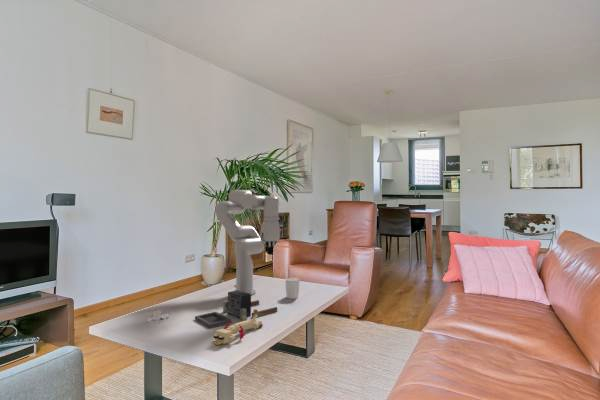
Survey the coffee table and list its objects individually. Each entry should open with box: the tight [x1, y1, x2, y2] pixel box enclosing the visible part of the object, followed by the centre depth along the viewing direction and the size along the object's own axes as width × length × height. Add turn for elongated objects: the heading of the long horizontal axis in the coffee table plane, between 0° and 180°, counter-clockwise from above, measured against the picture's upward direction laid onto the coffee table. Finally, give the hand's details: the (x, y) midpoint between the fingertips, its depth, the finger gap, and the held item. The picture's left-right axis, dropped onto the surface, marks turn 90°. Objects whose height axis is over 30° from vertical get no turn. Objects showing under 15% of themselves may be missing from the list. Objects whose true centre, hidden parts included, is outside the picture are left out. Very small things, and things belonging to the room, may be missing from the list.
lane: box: [222, 299, 278, 322], centre depth 170 cm, size 17×20×5 cm
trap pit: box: [194, 311, 233, 329], centre depth 157 cm, size 14×10×2 cm
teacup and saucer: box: [147, 310, 170, 324], centre depth 159 cm, size 9×8×4 cm
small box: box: [227, 290, 252, 319], centre depth 166 cm, size 11×6×10 cm, turn 47°
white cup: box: [285, 277, 301, 300], centre depth 196 cm, size 8×8×10 cm
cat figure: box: [212, 308, 264, 346], centre depth 141 cm, size 10×9×25 cm
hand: (270, 254), depth 187 cm, fingers closed
